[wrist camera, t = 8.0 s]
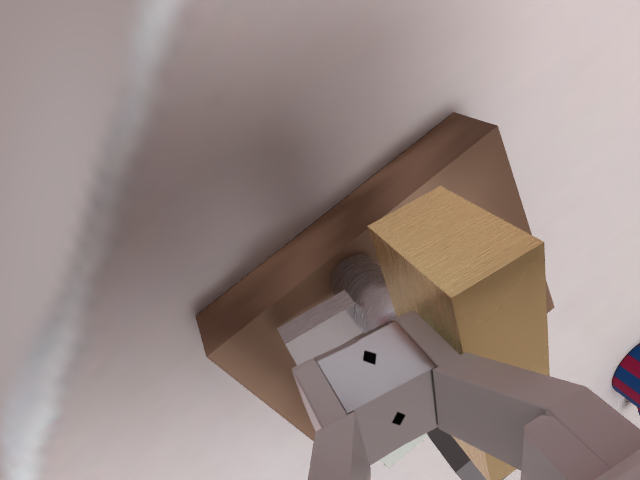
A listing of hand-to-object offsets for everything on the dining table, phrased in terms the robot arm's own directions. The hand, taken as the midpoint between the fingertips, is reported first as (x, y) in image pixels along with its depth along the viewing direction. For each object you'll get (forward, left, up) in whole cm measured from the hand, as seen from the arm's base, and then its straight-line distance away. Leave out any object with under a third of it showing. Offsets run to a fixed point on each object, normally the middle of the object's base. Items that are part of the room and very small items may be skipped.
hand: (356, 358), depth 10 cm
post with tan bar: (+1, -2, -8) cm, 8 cm away
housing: (+3, -11, -11) cm, 16 cm away
